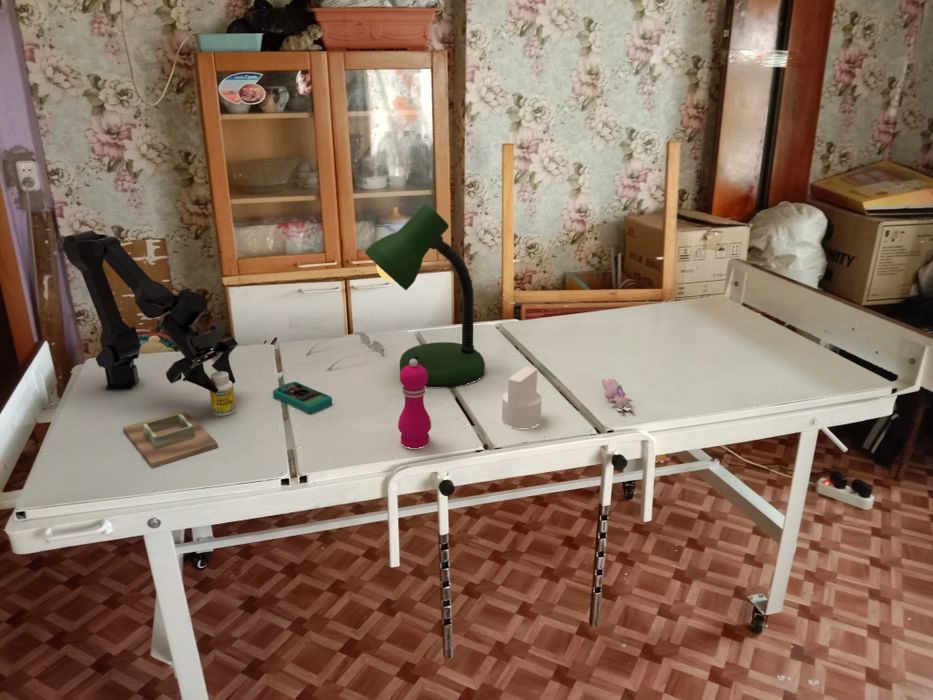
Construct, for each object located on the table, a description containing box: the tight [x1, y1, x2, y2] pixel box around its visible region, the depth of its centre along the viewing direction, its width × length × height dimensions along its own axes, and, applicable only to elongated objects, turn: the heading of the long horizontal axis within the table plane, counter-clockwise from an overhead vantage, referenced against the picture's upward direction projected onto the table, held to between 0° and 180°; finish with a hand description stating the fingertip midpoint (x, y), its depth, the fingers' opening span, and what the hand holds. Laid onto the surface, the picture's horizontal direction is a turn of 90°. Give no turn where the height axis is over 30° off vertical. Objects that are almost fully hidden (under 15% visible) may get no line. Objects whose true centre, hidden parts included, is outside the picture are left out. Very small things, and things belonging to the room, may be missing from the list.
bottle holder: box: [122, 410, 219, 468], centre depth 166 cm, size 20×14×4 cm
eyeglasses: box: [305, 331, 386, 372], centre depth 212 cm, size 15×18×4 cm
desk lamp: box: [364, 203, 486, 389], centre depth 193 cm, size 31×23×45 cm
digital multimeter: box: [272, 381, 333, 415], centre depth 185 cm, size 7×15×3 cm, turn 50°
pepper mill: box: [397, 359, 432, 448], centre depth 163 cm, size 7×7×20 cm
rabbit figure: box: [601, 378, 634, 413], centre depth 185 cm, size 6×6×15 cm
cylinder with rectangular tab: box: [501, 365, 543, 428], centre depth 174 cm, size 9×9×12 cm
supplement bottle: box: [209, 371, 237, 417], centre depth 178 cm, size 5×5×10 cm
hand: (225, 387), depth 176 cm, fingers closed on supplement bottle, 5 cm apart
